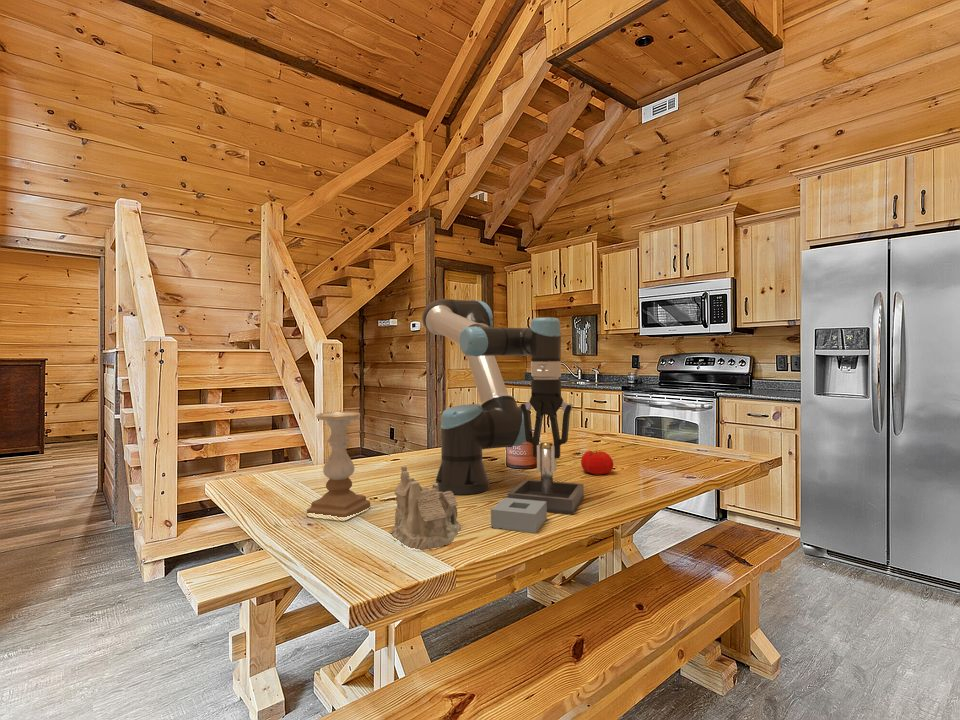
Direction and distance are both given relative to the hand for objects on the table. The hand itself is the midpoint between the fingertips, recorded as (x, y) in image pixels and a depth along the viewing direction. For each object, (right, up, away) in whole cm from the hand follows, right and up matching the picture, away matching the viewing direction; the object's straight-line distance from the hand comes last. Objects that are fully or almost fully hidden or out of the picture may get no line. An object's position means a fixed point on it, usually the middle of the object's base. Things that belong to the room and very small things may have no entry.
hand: (546, 470), depth 129 cm
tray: (0, -8, 0) cm, 8 cm away
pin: (0, -6, 0) cm, 6 cm away
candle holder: (-51, -9, -7) cm, 52 cm away
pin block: (-8, -8, -16) cm, 20 cm away
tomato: (+20, -8, +33) cm, 40 cm away
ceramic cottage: (-28, -9, -23) cm, 37 cm away
